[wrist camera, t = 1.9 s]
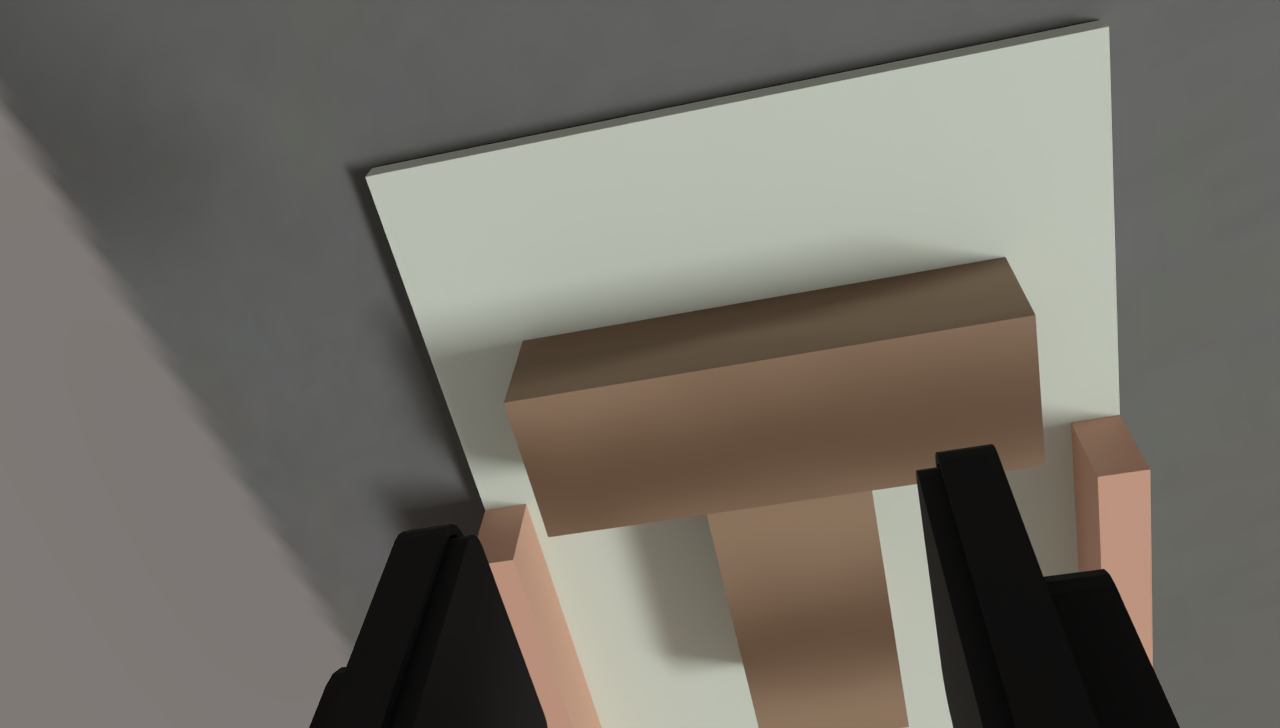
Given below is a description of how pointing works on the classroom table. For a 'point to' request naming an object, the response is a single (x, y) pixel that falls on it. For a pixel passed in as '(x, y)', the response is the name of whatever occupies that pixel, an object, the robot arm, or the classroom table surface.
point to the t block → (786, 453)
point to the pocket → (1105, 540)
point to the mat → (758, 269)
